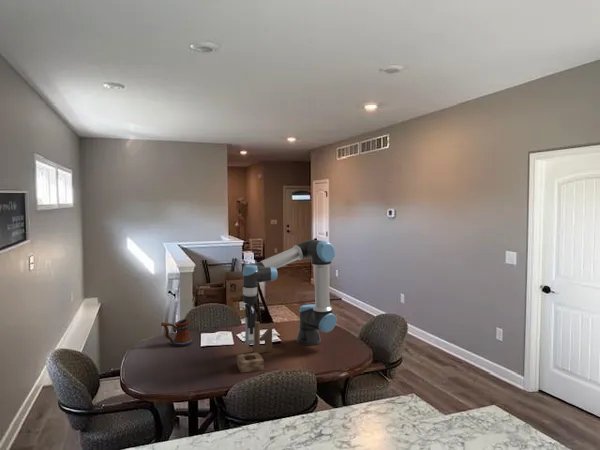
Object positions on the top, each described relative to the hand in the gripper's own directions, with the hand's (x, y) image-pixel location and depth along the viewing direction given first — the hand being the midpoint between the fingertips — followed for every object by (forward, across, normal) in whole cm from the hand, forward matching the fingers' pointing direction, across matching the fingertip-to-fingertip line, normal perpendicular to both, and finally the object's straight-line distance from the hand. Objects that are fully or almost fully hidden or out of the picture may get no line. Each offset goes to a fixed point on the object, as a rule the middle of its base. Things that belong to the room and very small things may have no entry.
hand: (249, 338), depth 224 cm
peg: (+3, 0, 0) cm, 3 cm away
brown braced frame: (+16, -19, +12) cm, 27 cm away
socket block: (+16, 0, 0) cm, 16 cm away
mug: (+16, -48, -34) cm, 61 cm away
